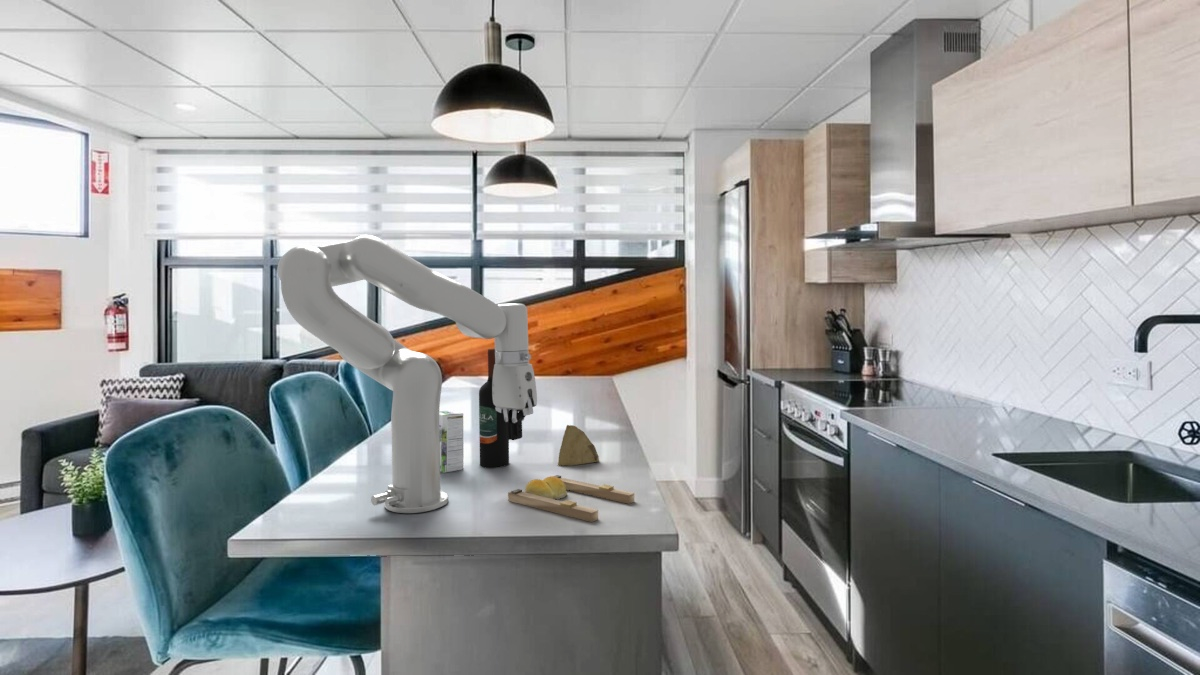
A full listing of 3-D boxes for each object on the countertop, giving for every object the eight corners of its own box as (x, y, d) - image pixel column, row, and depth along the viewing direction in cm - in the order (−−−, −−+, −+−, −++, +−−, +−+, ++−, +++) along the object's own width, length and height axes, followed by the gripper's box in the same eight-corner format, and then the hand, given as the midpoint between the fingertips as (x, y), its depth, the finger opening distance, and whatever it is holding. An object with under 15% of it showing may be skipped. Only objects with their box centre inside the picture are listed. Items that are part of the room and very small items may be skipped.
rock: (605, 449, 163) (570, 442, 166) (603, 429, 157) (567, 421, 160) (592, 482, 155) (556, 474, 158) (590, 461, 150) (552, 453, 152)
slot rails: (591, 522, 114) (591, 510, 114) (508, 500, 127) (508, 490, 127) (634, 501, 127) (634, 490, 126) (554, 483, 139) (554, 473, 139)
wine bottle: (512, 466, 155) (511, 349, 153) (482, 469, 152) (481, 350, 151) (505, 459, 162) (504, 348, 160) (477, 462, 159) (475, 348, 158)
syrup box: (433, 468, 153) (432, 412, 152) (454, 464, 156) (453, 409, 156) (443, 473, 148) (442, 415, 147) (464, 469, 152) (464, 412, 151)
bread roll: (520, 493, 133) (520, 476, 132) (558, 488, 136) (558, 471, 136) (532, 505, 125) (531, 486, 125) (572, 499, 129) (571, 480, 129)
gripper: (548, 357, 134) (550, 439, 135) (500, 355, 143) (503, 432, 144) (525, 361, 128) (528, 446, 129) (476, 358, 137) (479, 438, 138)
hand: (515, 438), depth 137 cm, fingers closed
